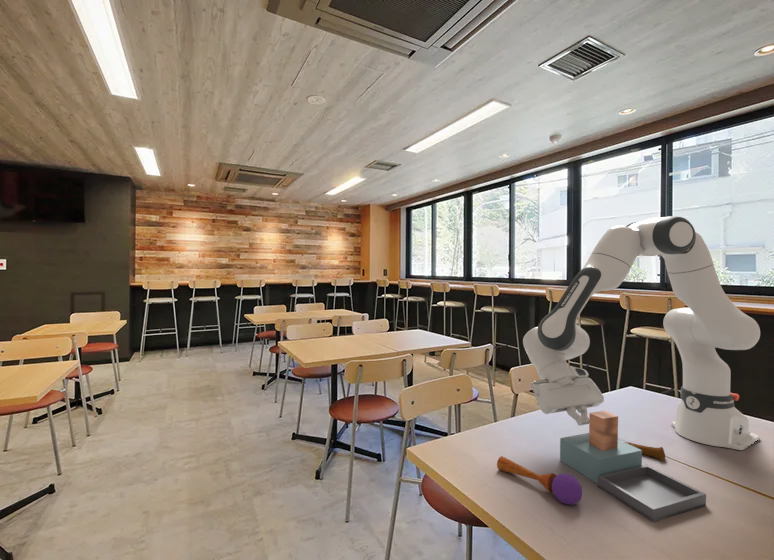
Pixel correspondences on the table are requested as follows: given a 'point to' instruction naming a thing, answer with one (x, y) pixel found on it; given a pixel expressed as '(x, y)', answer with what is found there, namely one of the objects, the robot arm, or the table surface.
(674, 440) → the table surface
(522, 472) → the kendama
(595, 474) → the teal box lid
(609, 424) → the terracotta block
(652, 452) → the primitive tool
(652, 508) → the box
